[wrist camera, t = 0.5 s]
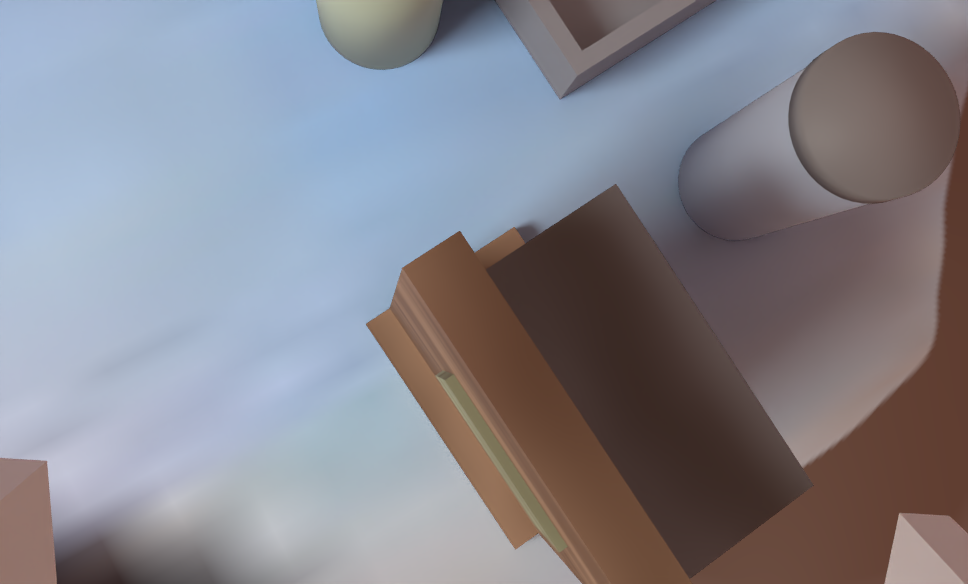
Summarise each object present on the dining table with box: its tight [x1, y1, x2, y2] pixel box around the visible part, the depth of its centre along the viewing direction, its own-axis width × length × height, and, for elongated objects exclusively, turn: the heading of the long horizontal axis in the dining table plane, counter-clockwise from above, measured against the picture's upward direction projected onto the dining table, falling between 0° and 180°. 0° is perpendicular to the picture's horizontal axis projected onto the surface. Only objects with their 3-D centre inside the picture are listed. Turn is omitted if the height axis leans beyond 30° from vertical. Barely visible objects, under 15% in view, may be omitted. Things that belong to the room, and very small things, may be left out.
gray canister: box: [678, 32, 960, 241], centre depth 34 cm, size 6×6×12 cm
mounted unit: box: [366, 184, 813, 584], centre depth 28 cm, size 8×12×20 cm, turn 34°
